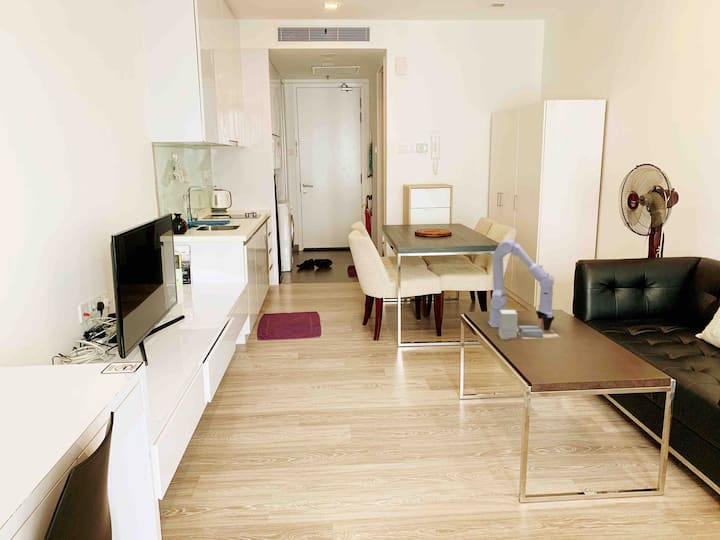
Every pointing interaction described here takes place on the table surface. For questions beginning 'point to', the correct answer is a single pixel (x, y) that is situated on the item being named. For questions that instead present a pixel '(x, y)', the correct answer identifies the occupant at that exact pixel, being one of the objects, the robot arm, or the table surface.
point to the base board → (546, 335)
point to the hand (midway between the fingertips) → (544, 327)
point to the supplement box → (508, 324)
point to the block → (542, 325)
